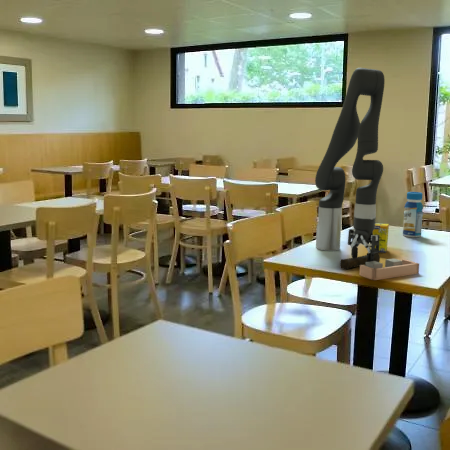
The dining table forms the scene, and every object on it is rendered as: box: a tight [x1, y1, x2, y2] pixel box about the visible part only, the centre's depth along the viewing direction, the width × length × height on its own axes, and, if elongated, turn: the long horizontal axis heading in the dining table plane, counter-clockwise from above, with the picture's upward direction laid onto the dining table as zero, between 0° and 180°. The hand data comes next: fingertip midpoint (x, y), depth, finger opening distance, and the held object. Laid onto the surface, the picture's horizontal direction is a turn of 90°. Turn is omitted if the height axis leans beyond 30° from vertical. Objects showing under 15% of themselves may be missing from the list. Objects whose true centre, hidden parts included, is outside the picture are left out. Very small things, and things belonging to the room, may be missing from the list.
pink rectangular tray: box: [359, 258, 420, 281], centre depth 194 cm, size 7×20×4 cm, turn 117°
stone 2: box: [384, 258, 402, 267], centre depth 199 cm, size 4×4×4 cm
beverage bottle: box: [402, 191, 424, 238], centre depth 261 cm, size 8×8×20 cm
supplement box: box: [373, 222, 390, 254], centre depth 229 cm, size 6×6×11 cm
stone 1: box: [364, 261, 384, 269], centre depth 195 cm, size 4×4×4 cm
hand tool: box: [339, 252, 381, 271], centre depth 205 cm, size 19×4×5 cm, turn 122°
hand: (362, 260), depth 206 cm, fingers open, 8 cm apart
